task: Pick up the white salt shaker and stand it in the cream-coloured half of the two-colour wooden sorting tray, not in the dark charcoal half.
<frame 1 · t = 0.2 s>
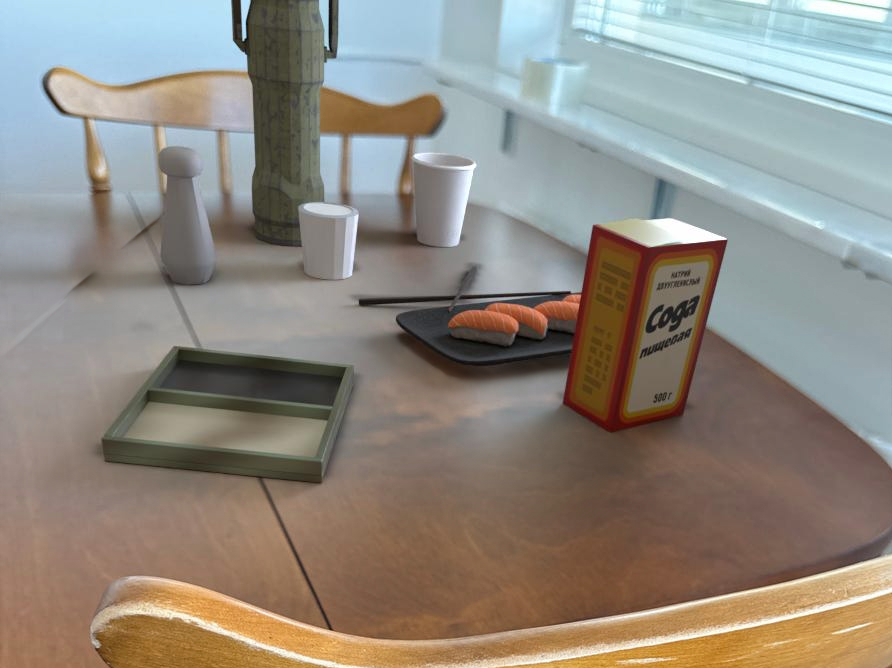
sorting tray: (241, 418, 76), on the table
sushi plate: (496, 317, 103), on the table
white faceted cup: (328, 273, 109), on the table
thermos: (288, 237, 119), on the table
salt shaker: (190, 280, 102), on the table
baking soda box: (622, 410, 86), on the table
dixie cup: (437, 242, 125), on the table
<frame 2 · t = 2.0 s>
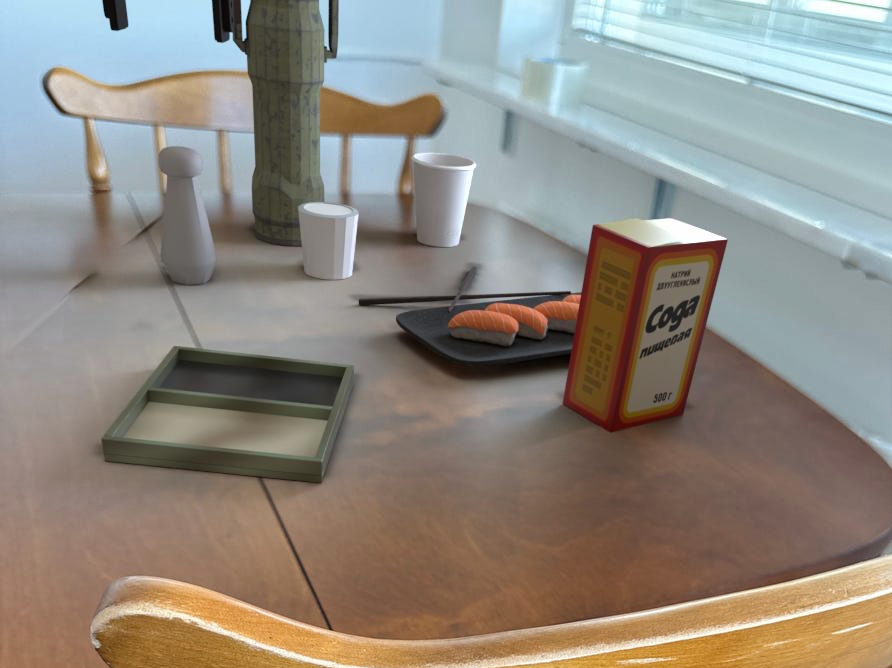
hand: (171, 35, 87), 23 cm above the table, tool pointing down, fingers open, 9 cm apart
nothing on the table moved.
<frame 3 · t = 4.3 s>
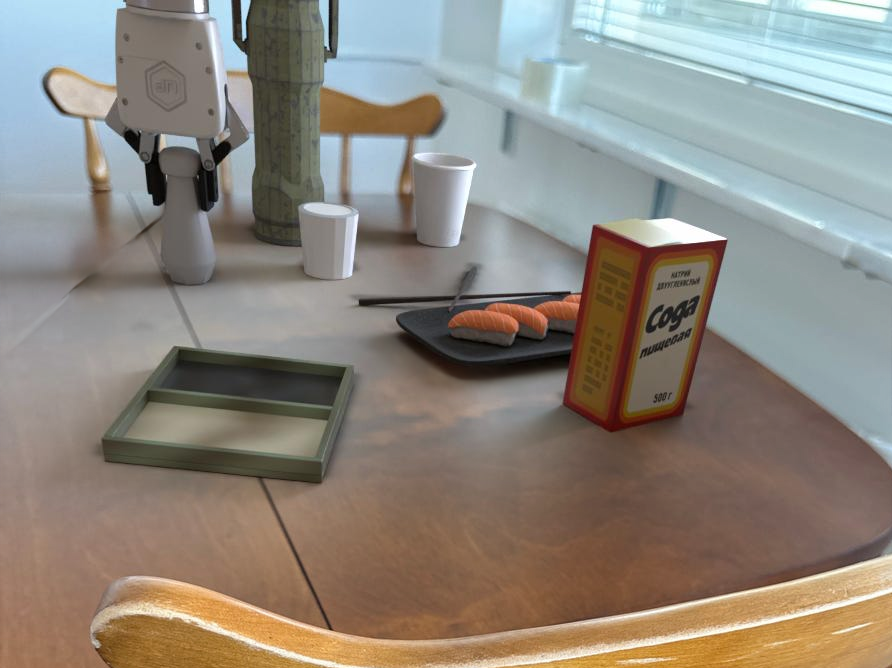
hand: (184, 203, 97), 8 cm above the table, tool pointing down, fingers closed on salt shaker, 4 cm apart
salt shaker: (190, 280, 102), on the table, touching gripper
everything else where it was.
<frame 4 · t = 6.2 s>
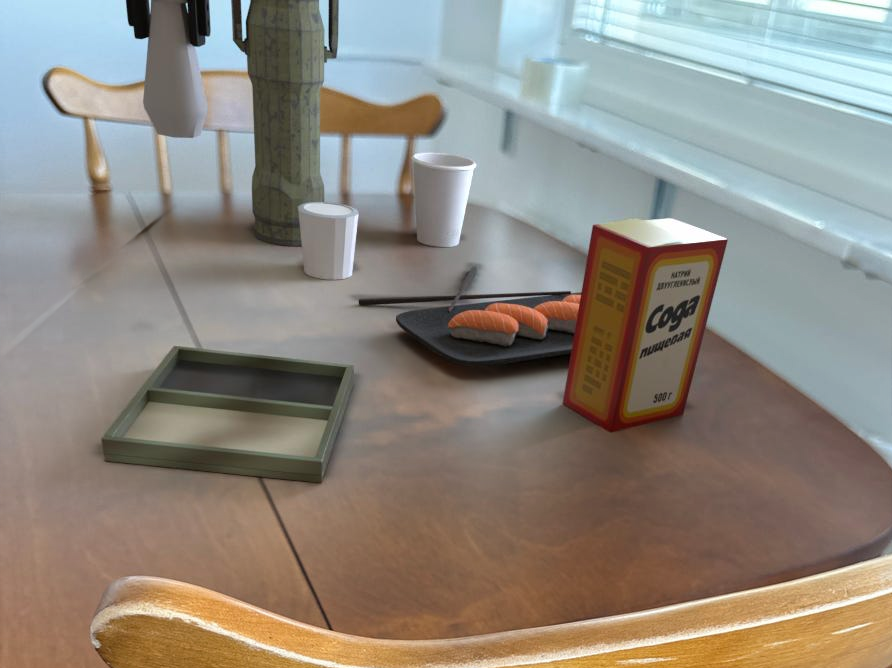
hand: (170, 38, 84), 23 cm above the table, tool pointing down, fingers closed on salt shaker, 4 cm apart
salt shaker: (178, 135, 89), point 15 cm above the table, touching gripper
everything else where it was.
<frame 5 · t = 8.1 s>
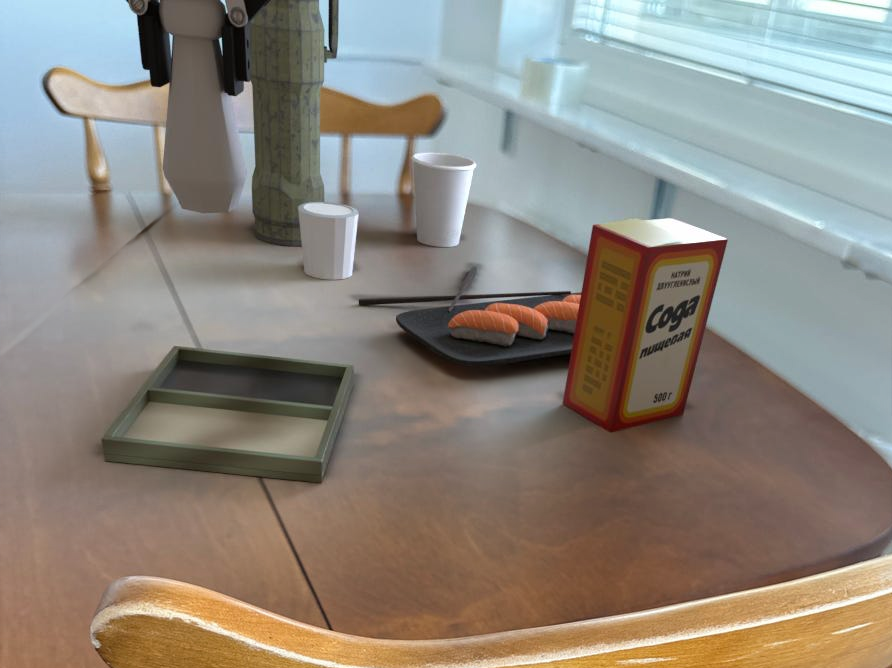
hand: (198, 85, 63), 23 cm above the table, tool pointing down, fingers closed on salt shaker, 4 cm apart
salt shaker: (208, 209, 68), point 15 cm above the table, touching gripper
everything else where it was.
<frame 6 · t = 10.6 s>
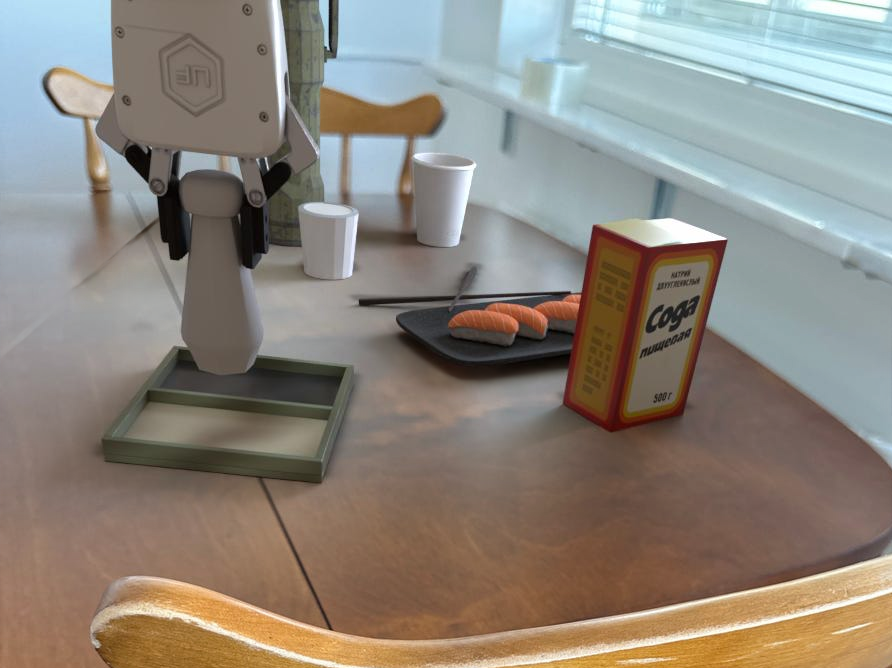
hand: (216, 256, 64), 14 cm above the table, tool pointing down, fingers closed on salt shaker, 4 cm apart
salt shaker: (225, 366, 69), point 6 cm above the table, touching gripper
everything else where it was.
when the fingers open (9 cm above the table, at t = 12.3 s): salt shaker stays where it is, resting on sorting tray.
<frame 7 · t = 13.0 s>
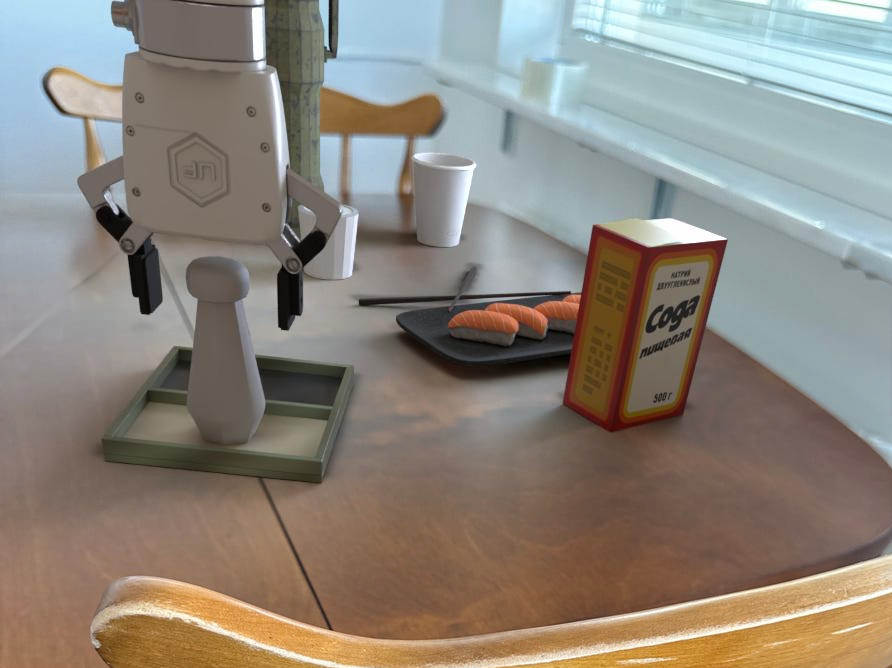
hand: (219, 316, 66), 10 cm above the table, tool pointing down, fingers open, 9 cm apart
salt shaker: (228, 435, 72), point 1 cm above the table, touching sorting tray
everything else where it was.
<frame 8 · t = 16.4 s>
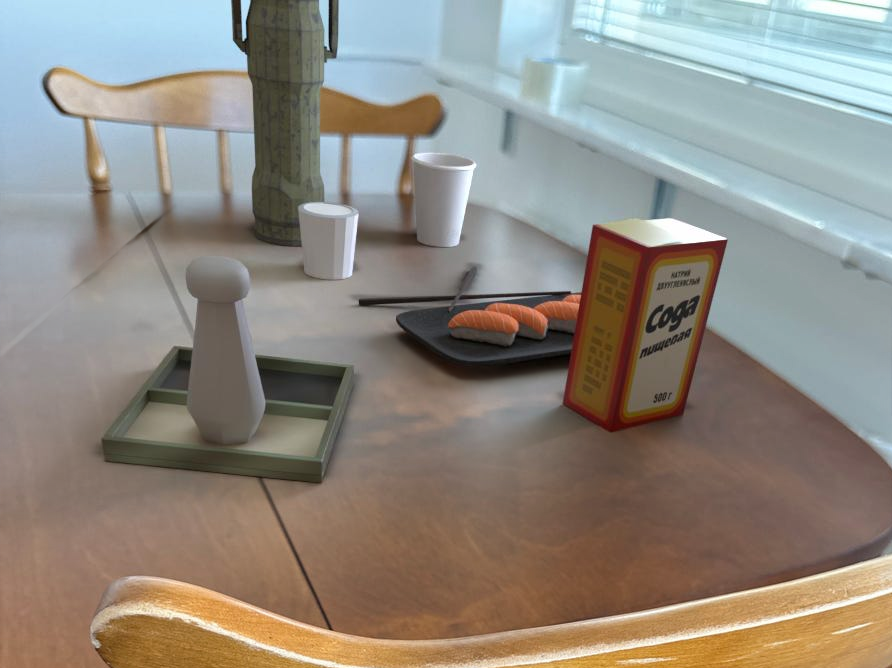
nothing on the table moved.
at the end: salt shaker inside the target area on the sorting tray (0.4 cm from its centre), point 0.6 cm above the sorting tray's base; salt shaker tilted 0°; the gripper is holding nothing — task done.
